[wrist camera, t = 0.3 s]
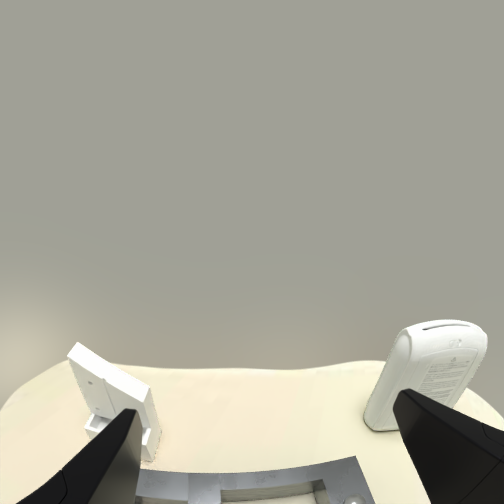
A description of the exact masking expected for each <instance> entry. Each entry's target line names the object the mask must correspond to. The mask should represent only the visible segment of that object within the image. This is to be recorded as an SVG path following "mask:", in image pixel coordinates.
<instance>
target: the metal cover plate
mask: <svg viewBox="0 0 504 504" xmlns="http://www.w3.org/2000/svg"><path fill="white" fill-rule="evenodd" d="M311 492H314V495H315V498H316V502H317V504H375V502H374V499H373V497H372V495H371V492H370V490H369V487H368V485H367V482H366V480H365V477H364V475H363V473H362V470H361V468H360V465H359V463H358V461H357V458H356V456H352V457H348V458H344V459H340V460H335V461H330V462H325V463H320V464H315V465H309V466H303V467H296V468H289V469H280V470H271V471H260V472H246V473H181V472H167V471H156V470H147V469H140V472H139V478H138V483H137V489H136V494H135V500H134V504H221V502H224V501H248V500H261V499H271V498H279V497H287V496H294V495H300V494H306V493H311Z"/></svg>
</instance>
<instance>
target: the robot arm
mask: <svg viewBox="0 0 504 504" xmlns="http://www.w3.org/2000/svg"><path fill="white" fill-rule="evenodd" d="M393 413H394V416H395V419H396V422H397V425H398V427H399V430H400V433H401V436H402V439H403V442H404V444H405V446H406V449H407V451H408V453H409V455H410V457H411V459H412V461H413V464H414V466H415V468H416V470H417V472H418V475H419V477H420V479H421V481H422V484H423V486H424V488H425V491H426V493H427V495H428V497H429V500H430V502H431V504H504V431H502V430H499V429H496V428H494V427H491V426H489V425H487V424H484V423H482V422H480V421H478V420H475V419H473V418H471V417H469V416H467V415H465V414H462V413H460V412H458V411H456V410H454V409H452V408H450V407H447V406H445V405H443V404H441V403H439V402H437V401H435V400H433V399H431V398H429V397H427V396H425V395H423V394H421V393H419V392H417V391H415V390H413V389H410V388H407V389H404V390H401V391H400V392H399V393H398V395H397V397H396V400H395V402H394V404H393ZM142 435H143V427H142V423H141V419H140V416H139V413H138V411H137V410H136V409H129V408H125V409H123V410H122V411H121V412H120V413H119V414H118V415H117V416H116V417H115V418H114V419H113V420H112V421H111V422H110V423H109V424H108V425H107V426H106V427H105V428H104V429H103V430H102V431H101V432H100V433H99V434H98V435H97V436H96V437H94V438H93V439H92V440H91V441H90V442H89V443H88V444H87V445H86V446H85V447H84V448H83V449H82V450H81V451H80V452H79V453H78V454H77V455H76V456H75V457H73V458H72V459H71V460H70V461H69V462H68V463H67V464H66V465H65V466H64V467H63V468H62V470H59V471H58V472H57V473H56V474H55V475H54V476H53V477H52V478H51V479H49V480H48V481H47V482H46V483H45V484H44V485H42V486H41V487H40V488H38V489H37V490H35V491H34V492H33V493H31V494H30V495H28V496H27V497H25V498H24V499H22V500H21V501H19V502H18V503H16V504H134V500H135V494H136V489H137V483H138V478H139V472H140V462H141V447H142Z"/></svg>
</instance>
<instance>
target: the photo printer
mask: <svg viewBox="0 0 504 504" xmlns="http://www.w3.org/2000/svg"><path fill="white" fill-rule="evenodd" d="M486 349H487V335H486V333H484V332H483V331H482V329H481V328H480V327H479V326H477V325H475V324H473V323H470V322H466V321H460V320H437V321H429V322H424V323H419V324H416V325H413V326H410V327H407V328H405V329H403V330H401V331H400V333H399V334H398V336H397V337H396V340H395V342H394V345H393V347H392V350H391V352H390V354H389V357H388V359H387V361H386V364H385V366H384V368H383V371H382V373H381V375H380V377H379V379H378V381H377V384H376V386H375V388H374V390H373V392H372V394H371V396H370V398H369V400H368V403H367V408H366V410H365V412H364V420H365V422H366V424H367V425H368V426H369V427H370V428H372V429H373V430H378V431H388V430H398V429H399V427H398V425H397V422H396V419H395V416H394V413H393V404H394V402H395V400H396V397H397V395H398V393H399V392H400V391H401V390H404V389H407V388H410V389H413V390H415V391H417V392H419V393H421V394H423V395H425V396H427V397H429V398H431V399H433V400H435V401H437V402H439V403H441V404H443V405H445V406H447V407H450V408H453V407H454V405H455V404H456V402H457V401H458V399H459V398H460V396H461V395H462V393H463V392H464V390H465V389H466V387H467V385H468V384H469V382H470V381H471V379H472V377H473V376H474V374H475V372H476V370H477V368H478V367H479V365H480V363H481V362H482V359H483V358H484V356H485V353H486Z"/></svg>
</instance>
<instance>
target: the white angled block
mask: <svg viewBox="0 0 504 504" xmlns="http://www.w3.org/2000/svg"><path fill="white" fill-rule="evenodd" d="M67 357H68V360H69V363H70V365H71V368H72V370H73V373H74V375H75V378H76V380H77V383H78V385H79V387H80V390H81V392H82V394H83V396H84V399H85V401H86V403H87V405H88V407H89V409H90V411H91V415H90V417H89V419H88V421H87V423H86V425H85V427H84V429H85V430H86V432H87V434H88V435H89V437H90V439H91V440H92V439H93V438H94V437H96V436H97V435H98V434H99V433H100V432H101V431H102V430H103V429H104V428H105V427H106V426H107V425H108V424H109V423H110V422H111V421H112V420H113V419H114V418H115V417H116V416H117V415H118V414H119V413H120V412H121V411H122V410H123V409H125V408H129V409H136V410H137V411H138V413H139V416H140V419H141V423H142V427H143V435H142V447H141V460H146V461H150V462H153V460H154V457H155V453H156V450H157V446H158V442H159V439H160V435H161V428H160V425H159V421H158V417H157V414H156V410H155V406H154V402H153V398H152V394H151V390H150V386H148V385H146V384H145V383H143V382H141V381H139V380H137V379H136V378H134V377H132V376H130V375H129V374H127V373H125V372H124V371H122V370H120V369H119V368H117V367H115V366H114V365H112V364H110V363H109V362H107V361H106V360H104V359H102V358H101V357H99V356H98V355H96V354H95V353H93V352H92V351H90V350H89V349H87V348H86V347H84V346H83V345H81V344H80V343H79V342H77V343H76V345H75V346H74V347H73V349H72V350H71V351H70V353H69V354H68V355H67Z"/></svg>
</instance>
